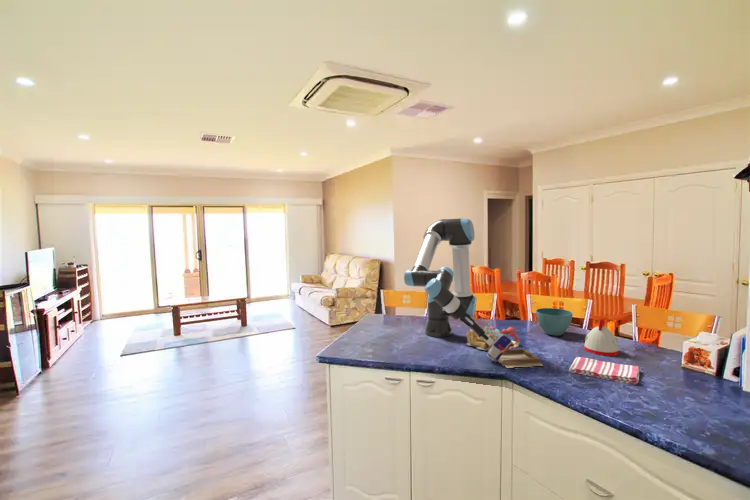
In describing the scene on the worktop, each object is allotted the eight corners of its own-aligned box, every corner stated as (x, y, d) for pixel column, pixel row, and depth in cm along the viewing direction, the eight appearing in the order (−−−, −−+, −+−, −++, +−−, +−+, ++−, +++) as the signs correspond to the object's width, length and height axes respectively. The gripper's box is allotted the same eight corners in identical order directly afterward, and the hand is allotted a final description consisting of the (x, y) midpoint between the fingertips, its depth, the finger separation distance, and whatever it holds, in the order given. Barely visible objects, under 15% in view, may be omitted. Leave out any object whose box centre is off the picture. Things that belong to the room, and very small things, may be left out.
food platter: (502, 356, 170) (502, 337, 170) (458, 346, 187) (457, 328, 186) (524, 343, 188) (524, 325, 188) (481, 335, 205) (481, 318, 204)
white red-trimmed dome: (621, 350, 175) (621, 318, 174) (615, 358, 164) (616, 325, 164) (588, 344, 184) (588, 314, 183) (580, 351, 174) (581, 320, 173)
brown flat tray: (489, 354, 172) (489, 349, 172) (521, 352, 174) (521, 347, 174) (506, 369, 155) (506, 362, 154) (542, 366, 156) (542, 360, 156)
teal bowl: (573, 331, 207) (573, 309, 206) (571, 340, 191) (571, 316, 190) (538, 327, 216) (538, 306, 215) (533, 335, 200) (533, 313, 200)
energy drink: (491, 360, 159) (508, 337, 159) (483, 353, 164) (499, 331, 163) (498, 363, 162) (514, 342, 161) (490, 356, 167) (506, 335, 166)
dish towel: (638, 387, 136) (638, 378, 136) (568, 373, 150) (568, 365, 150) (639, 372, 149) (639, 363, 149) (574, 361, 163) (574, 353, 163)
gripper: (444, 310, 166) (480, 344, 169) (453, 317, 153) (491, 354, 156) (455, 298, 166) (491, 332, 169) (465, 304, 153) (503, 341, 156)
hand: (491, 343), depth 163 cm, fingers closed
